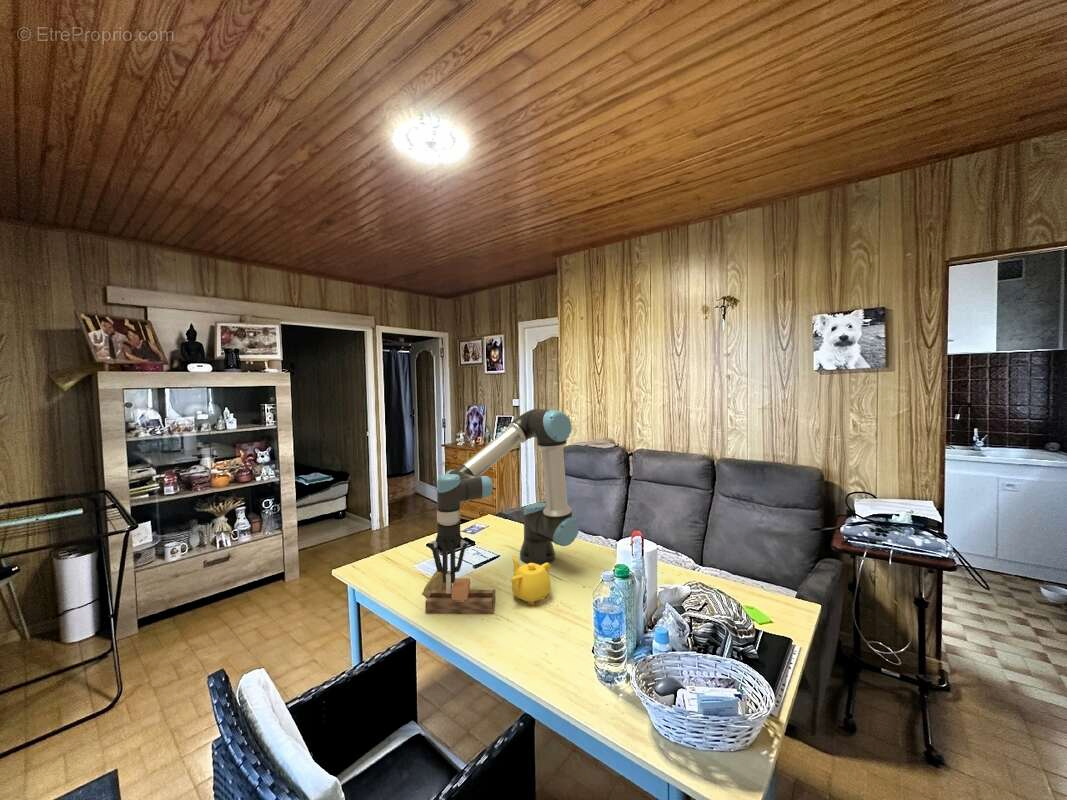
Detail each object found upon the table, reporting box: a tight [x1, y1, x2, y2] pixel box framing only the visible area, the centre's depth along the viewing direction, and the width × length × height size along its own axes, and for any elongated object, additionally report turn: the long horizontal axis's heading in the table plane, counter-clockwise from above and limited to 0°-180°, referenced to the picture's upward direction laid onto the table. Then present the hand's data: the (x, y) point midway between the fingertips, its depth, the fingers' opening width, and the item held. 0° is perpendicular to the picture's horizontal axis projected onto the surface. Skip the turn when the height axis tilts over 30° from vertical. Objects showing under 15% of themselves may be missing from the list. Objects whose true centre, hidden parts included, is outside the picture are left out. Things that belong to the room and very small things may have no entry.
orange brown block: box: [452, 577, 471, 600], centre depth 139 cm, size 5×7×7 cm
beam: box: [424, 588, 496, 615], centre depth 140 cm, size 22×9×4 cm, turn 90°
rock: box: [421, 570, 446, 597], centre depth 146 cm, size 11×9×10 cm
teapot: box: [510, 556, 552, 606], centre depth 147 cm, size 14×14×12 cm
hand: (449, 591), depth 139 cm, fingers closed
